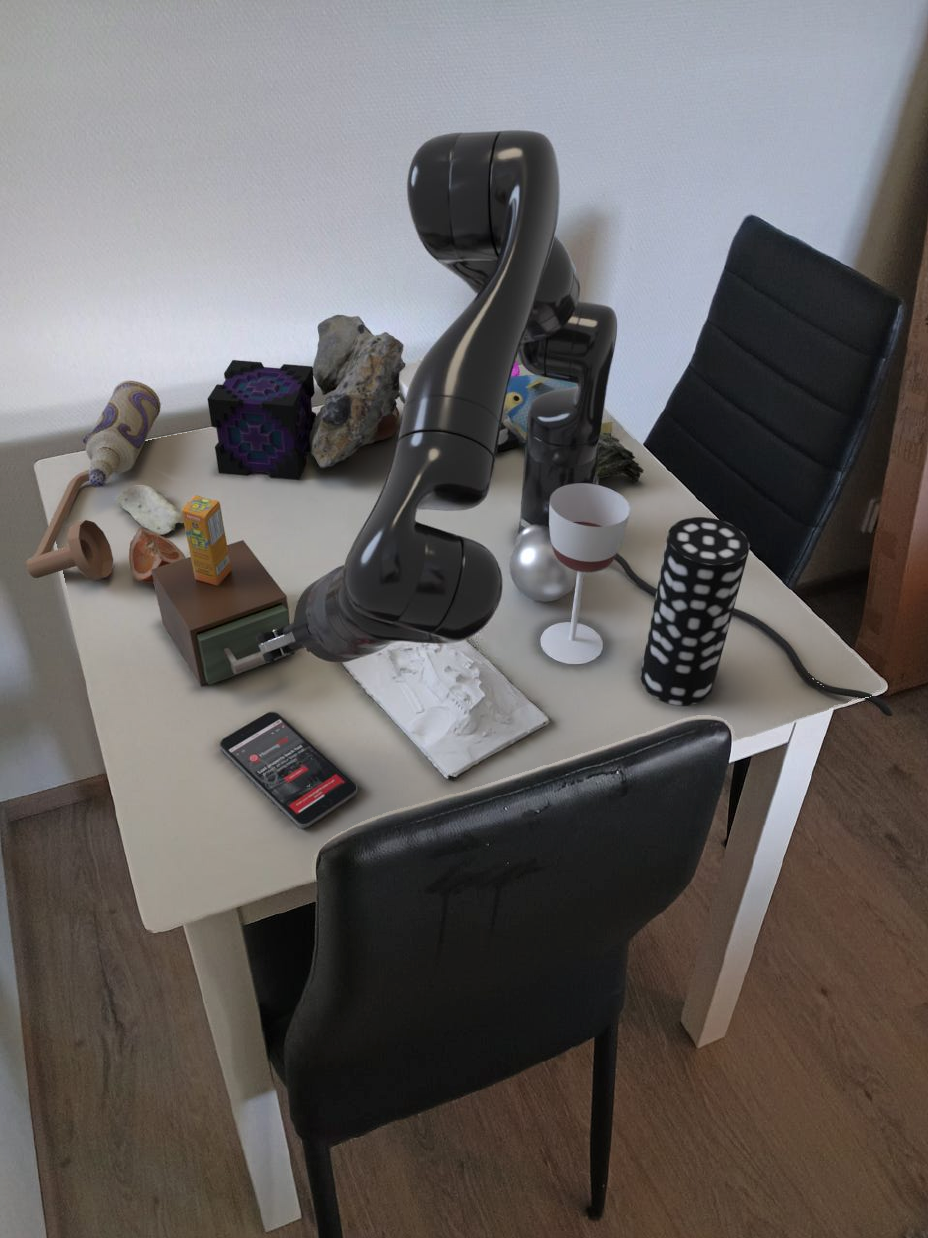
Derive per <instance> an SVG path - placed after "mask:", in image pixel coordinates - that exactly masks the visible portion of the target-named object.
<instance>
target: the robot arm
mask: <svg viewBox="0 0 928 1238" xmlns="http://www.w3.org/2000/svg"><path fill="white" fill-rule="evenodd" d="M559 170H560V168H559V162H558V158H557V153H556V151H555V147H554V146H553V143H552V142H551V140H550V139H549V138H548V136H546V135H545V134H544V133H541V132H538V131H533V130H522V129H521V130H520V129H519V130H518V129H515V130H513V129H512V130H509V129H507V130H495V131H494V130H493V131H492V130H489V131H467V132H466V131H465V132H450V133H445V134H441V135H438V136H434V137H431V138H430V139H428V140H427V141H425V142H424V143H422V144H421V145H420V147H419V148H418V149H417V150H416V152H415V153H414V155H413V157H412V160H411V162H410V164H409V168H408V173H407V178H406V179H407V180H406V200H407V206H408V211H409V215H410V219H411V222H412V225H413V228H414V230H415V233H416V235H417V237H418V239H419V241H420V243H421V244H422V246H423V247H424V249H425V251H426V252H427V253H428V254H429V255H430V256H431V257H432V258H433V260H435V261H436V262H437V263H439V264H440V265H441V266H443V267H444V268H446V270H448V271H450V272H451V273H453V274H454V275H456V276H457V277H458V278H459V279H460V280H462V282H464V283H465V284H466V285H467V286H468V287H469V289H471V290H472V292H473V293H474V294H475V297H473V299H472V300H471V301H470V303H468V305H467V306H466V308H464V310H463V311H462V312H461V313H460V314H459V316H457V318H456V319H455V320H454V321H453V322H452V323H451V324H450V325H449V326H448V328H446V330H444V332H443V333H442V334H441V335H440V337H439V338H438V339H437V340H436V342H434V344H432V346H431V347H430V349H429V350H428V351H427V352H426V354H424V357H423V360H422V361H421V363H420V364H419V366H418V368H417V370H416V372H415V374H414V376H413V378H412V381H411V383H410V386H409V389H408V392H407V396H406V400H405V404H403V407H404V408H403V410H402V414H401V418H402V420H401V419H400V422H401V424H400V425H399V431H398V435H397V440H396V445H395V450H394V454H393V459H392V462H391V466H390V469H389V471H388V474H387V477H386V479H385V481H384V484H383V486H382V489H381V491H380V493H379V496H378V498H377V500H376V501H375V504H374V506H373V508H372V510H371V511H370V514H369V515H368V517H367V518H366V520H365V522H364V523H363V525H362V527H361V528H360V530H359V532H358V534H357V536H356V538H355V539H354V541H353V542H352V545H351V547H350V549H349V551H348V553H347V555H346V558H345V561H344V564H343V565H340V566H337V567H336V568H334V569H332V570H331V571H329V572H328V573H326V574H325V575H322V577H320V578H318V579H317V580H315V581H313V582H312V583H311V584H309V585H308V586H307V587H306V588H305V589H304V591H302V593H301V594H300V596H299V598H298V599H297V602H296V605H295V609H294V617H293V622H292V623H290V624H289V625H287V626H283V627H280V629H275V630H273V631H270V632H266V633H264V632H262V633H259V635H258V636H256V640H257V643H258V644H259V645H258V646H259V648H260V651H261V653H262V654H263V658H264V660H265V662H268V661H269V662H268V663H272V662H275V661H276V660H277V659H276V658H279V657H282V656H284V657H286V656H285V655H287V654H290V655H289V656H292V655H295V654H296V652H298V651H299V650H303V649H305V650H306V652H307V653H311V654H312V655H313V656H315V657H317V658H318V659H321V660H322V661H325V662H329V663H335V664H337V663H338V664H340V663H341V664H343V663H342V662H348V661H352V660H355V659H358V658H361V657H364V656H367V655H370V654H373V653H376V652H378V651H380V650H382V649H384V648H385V647H387V646H388V645H390V644H393V643H396V642H399V641H404V642H416V643H433V644H450V643H457V642H461V641H464V640H466V641H467V640H469V639H470V638H472V637H474V636H475V635H477V634H478V633H479V632H481V631H482V630H483V629H484V628H485V627H486V626H487V625H488V623H489V622H490V621H491V619H492V618H493V617H494V615H495V613H496V611H497V609H498V607H499V606H500V602H501V600H502V596H503V595H502V594H503V588H504V587H503V585H504V583H503V582H504V581H503V574H502V569H501V566H500V564H499V562H498V560H497V558H496V557H495V555H494V554H493V552H492V551H491V550H490V549H489V548H488V547H486V546H485V545H483V544H482V543H480V542H478V541H476V540H474V539H471V538H468V537H465V536H462V535H459V534H456V533H452V532H450V531H446V530H443V529H440V528H437V527H434V526H431V525H428V524H425V523H421V522H420V521H417V520H416V518H417V517H416V516H417V512H418V510H429V511H430V510H431V511H448V512H450V511H451V512H456V511H457V512H458V511H460V512H461V511H467V510H470V509H474V508H476V507H477V506H479V505H480V504H482V503H483V502H484V501H485V499H486V498H487V497H488V494H489V492H490V489H491V485H492V482H493V476H494V470H495V464H496V460H497V459H496V458H497V447H498V441H499V435H500V429H501V422H502V416H503V410H504V404H505V399H506V394H507V390H508V386H509V382H510V378H511V374H512V371H513V367H514V364H515V361H516V360H517V357H518V358H519V361H520V363H521V364H522V366H523V367H524V369H525V370H526V371H528V372H529V373H530V374H532V375H538V376H541V377H545V378H550V379H556V380H561V381H566V382H571V383H576V384H578V385H577V386H574V387H571V388H567V389H561V390H555V391H551V392H547V393H545V394H542V395H540V396H539V397H537V398H536V399H535V400H534V401H533V402H532V403H531V405H530V407H529V411H528V420H527V433H526V440H525V446H524V459H523V460H524V462H523V473H522V485H521V486H522V487H521V501H520V513H519V514H520V516H519V525H518V530H517V532H518V533H517V535H518V534H519V533H520V532H521V531H522V530H523V529H524V528H526V527H528V526H530V525H542V526H546V527H548V528H549V506H550V497H551V495H552V493H553V492H554V491H555V490H557V489H558V488H560V487H562V486H565V485H569V484H576V483H587V484H595V485H599V481H600V478H598V477H597V476H595V473H596V465H597V457H598V449H599V441H600V434H601V427H602V423H603V419H604V412H605V405H606V398H607V390H608V385H609V379H610V374H611V368H612V363H613V359H614V353H615V349H616V344H617V343H616V342H617V335H618V334H617V333H618V319H617V315H616V312H615V310H614V309H613V308H612V307H611V306H608V305H605V304H601V303H595V302H588V301H584V300H583V301H582V300H580V293H581V286H580V280H579V275H578V271H577V269H576V266H575V264H574V263H573V260H572V257H571V255H570V253H569V251H568V250H567V248H566V246H565V245H564V243H563V242H562V241H561V239H560V238H558V236H557V235H556V231H557V226H558V221H559V213H560V203H561V186H560V185H561V183H560V171H559ZM516 362H517V361H516ZM502 423H503V422H502ZM614 561H615V562H617V563H618V564H619V566H620V567H621V568H622V570H623V571H624V572H625V574H626V575H627V576H628V578H629V579H630V580H631V581H633V582H634V583H635V584H636V585H637V586H639V587H640V588H642V589H643V590H644V591H646V592H648V593H649V594H651V595H653V596H655V597H656V593H657V588H656V587H654V586H653V585H651V584H649V583H648V582H646V581H645V580H644V579H642V578H641V577H640V576H639V575H637V574H636V573H635V572H634V571H633V569H632V567H631V566H630V564H629V563H628V562H627V560H626V559H624V557H623V556H622V555H620V554H619V553H617V555H616V557H615V559H614ZM732 616H736V617H738V618H740V619H742V620H745V621H747V622H749V623H750V624H752V625H754V626H755V627H757V628H758V629H760V630H761V631H762V632H764V633H765V634H766V635H768V636H769V637H770V638H771V639H772V640H774V641H775V642H776V643H777V644H778V645H779V646H780V647H781V648H782V649H783V650H784V651H785V652H786V654H787V655H788V657H789V659H790V660H791V662H792V664H793V666H794V667H795V669H796V670H797V672H798V673H799V674H800V675H801V677H802V678H803V680H805V681H806V682H807V683H809V684H810V685H811V686H813V687H814V688H816V689H818V690H820V691H822V692H825V693H828V694H832V695H836V696H842V697H850V698H856V699H860V700H864V701H867V702H870V703H872V704H873V705H875V706H876V707H877V708H878V709H879V710H880V711H881V713H882V714H884V715H885V716H887V717H892V716H893V712H892V709H891V708H890V707H889V706H888V704H887V703H886V702H884V700H883V699H881V698H879V697H878V696H876V695H874V696H872V695H873V694H872V693H869V692H866V691H862V690H857V689H849V688H844V687H837V686H833V685H829V684H828V683H824V682H822V681H821V680H819V679H817V678H816V677H815V676H813V675H812V674H811V673H810V672H809V671H808V670H807V668H806V667H805V666H804V664H803V663H802V661H801V659H800V656H799V655H798V654H797V652H796V651H795V649H794V648H793V646H792V645H791V644H790V643H789V642H788V641H787V640H786V639H785V638H784V637H783V636H782V635H780V634H779V633H778V632H777V631H776V630H775V629H773V628H772V627H770V626H769V625H768V624H766V623H765V622H764V621H762V620H760V619H759V618H757V617H755V616H754V615H752V614H750V613H748V612H746V611H743V610H740V609H738V608H735V607H734V610H733V613H732ZM287 656H288V655H287ZM282 658H283V657H282ZM275 659H276V660H275ZM279 659H280V658H279ZM808 672H809V673H808ZM812 678H814V680H813V679H812ZM815 678H816V679H817V680H816V679H815ZM817 682H819V683H817ZM820 684H822V685H820ZM823 686H824V687H823ZM870 696H871V697H870ZM857 697H858V698H857ZM865 697H869V698H865ZM862 698H865V699H862Z"/></svg>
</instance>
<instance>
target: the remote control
mask: <svg viewBox="0 0 928 1238" xmlns="http://www.w3.org/2000/svg"><path fill="white" fill-rule="evenodd" d="M506 428H508V427H507V425H505V424H504V423H503V422H501V429H500V431H501V430H503V429H506ZM507 435H508V439H507V440H506V441H505V442H504V443H502V444H501V445H500V444H498V447H497V452H502V451H506V450H509V449H513V448H516V447H517V446H518V438H517V435H515V433H514V432H512V431H511V430H510V428H508V433H507Z"/></svg>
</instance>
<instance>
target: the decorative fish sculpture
mask: <svg viewBox="0 0 928 1238" xmlns="http://www.w3.org/2000/svg"><path fill="white" fill-rule="evenodd" d="M577 385H578V384H576V383H571V382H566V381H561V380H556V379H550V378H545V377H541V376H538V375H535V374H525V375H519V376H516V377H511V378H510V382H509V386H508V390H507V394H506V399H505V404H504V407H506V406H507V407H508V411H507V412H506V413H508V418H509V420H510V423H512V424H513V426H514V427H515V429H516V430H517V432H518V434H519V435H520V436H521V437H522V438H523V439H524V440H525V441H526V433H527V420H528V411H529V407H530V405H531V403H532V402H533V401H534V400H535V399H536V398H537V397H539V396H540V395H542V394H545V393H547V392H551V391H555V390H561V389H567V388H571V387H574V386H577ZM612 432H613V422H612V421H610V422H609V421H608V422H602V427H601V433H611V434H612Z"/></svg>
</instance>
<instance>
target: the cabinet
mask: <svg viewBox="0 0 928 1238" xmlns="http://www.w3.org/2000/svg"><path fill="white" fill-rule="evenodd" d="M227 547H228V553H229V558H230V563H231V568H232V570H231V572H230V573H229V574H228V575H227V576H226V577H225V579H224V580H223V581H222V582H221V583H220V584H219V585H218V586H216V585H213V584H210V583H206V582H202V581H199V580H196V579H195V575H194V570H193V565H192V561H191V556H189V557H185V559H182V560H179V561H176V562H173V563H170V564H167V565H163V566H160V567H157V568H154V569H151V573H152V577H153V582H154V583H153V587H154V590H155V591H154V592H155V595H156V599H157V603H158V608H159V612H160V616H161V622H162V625H163V626H164V628H165V630H166V631H167V634H168V635H169V637H171V640H172V641H173V643H174V645H175V646H176V648H177V649H178V651H179V653H180V654H181V656H182V658H183V659H184V661H185V662H186V664H187V666H188V667H189V669H190V671H191V672H192V674H193V676H194V677H195V679H196V680H197V682H198V684H199V685H200V687H202V686H205V685H209V684H208V683H207V681H206V680H205V676H204V671H203V666H202V661H201V656H200V651H199V646H198V641H197V636H196V635H197V633H198V632H201V631H204V630H206V629H209V628H212V627H215V626H218V625H220V624H223V623H226V622H229V621H232V620H235V619H237V618H240V617H243V616H246V615H249V614H252V613H254V612H257V611H260V610H263V609H266V608H268V607H271V606H274V607H276V606H279V605H282V604H283V605H284V607H285V608H286V609H287V615H288V623H289V624H291V622H290V621H291V619H290V613H289V605H288V604H289V603H288V597H287V595H286V593H285V592H284V591H283V590H282V588H281V587H280V586H279V584H278V583H277V582H276V580H275V579H274V578H273V576H272V575H271V573H269V572H268V570H267V569H266V568H265V566H264V565H263V564H262V563H261V561H260V559H258V557H257V556H256V554H255V553H254V552H253V551H252V550H251V548H250V547H249V545H247V543H246V541H245V540H243V539H242V540H238V541H236V542H232V543H229V544H227Z"/></svg>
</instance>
